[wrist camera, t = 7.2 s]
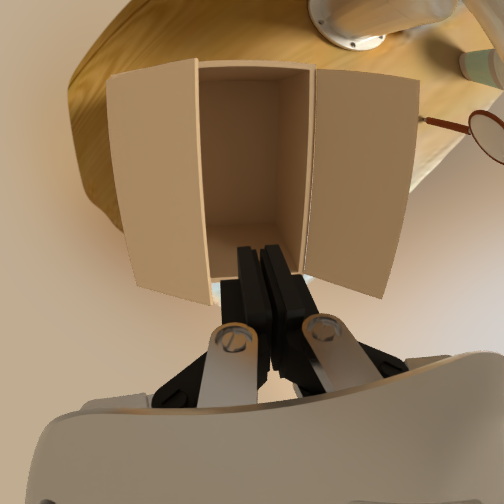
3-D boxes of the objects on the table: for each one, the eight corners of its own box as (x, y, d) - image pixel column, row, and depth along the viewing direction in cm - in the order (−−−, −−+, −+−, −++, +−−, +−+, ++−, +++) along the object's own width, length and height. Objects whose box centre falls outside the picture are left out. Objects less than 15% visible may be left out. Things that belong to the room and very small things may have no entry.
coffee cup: (472, 95, 33) (518, 105, 23) (449, 64, 30) (497, 67, 20) (483, 69, 30) (526, 74, 19) (461, 38, 27) (506, 37, 16)
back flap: (419, 80, 15) (419, 81, 16) (316, 69, 20) (319, 70, 20) (381, 299, 26) (382, 296, 26) (304, 273, 30) (306, 271, 31)
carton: (148, 84, 30) (110, 75, 18) (282, 78, 32) (316, 64, 20) (161, 231, 41) (141, 285, 29) (278, 224, 43) (303, 276, 31)
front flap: (109, 80, 18) (105, 80, 18) (198, 58, 16) (194, 57, 15) (139, 283, 28) (137, 285, 28) (213, 302, 26) (210, 306, 26)
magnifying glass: (408, 102, 34) (506, 121, 17) (414, 97, 34) (510, 113, 16) (433, 141, 38) (521, 177, 20) (438, 135, 37) (526, 169, 20)
